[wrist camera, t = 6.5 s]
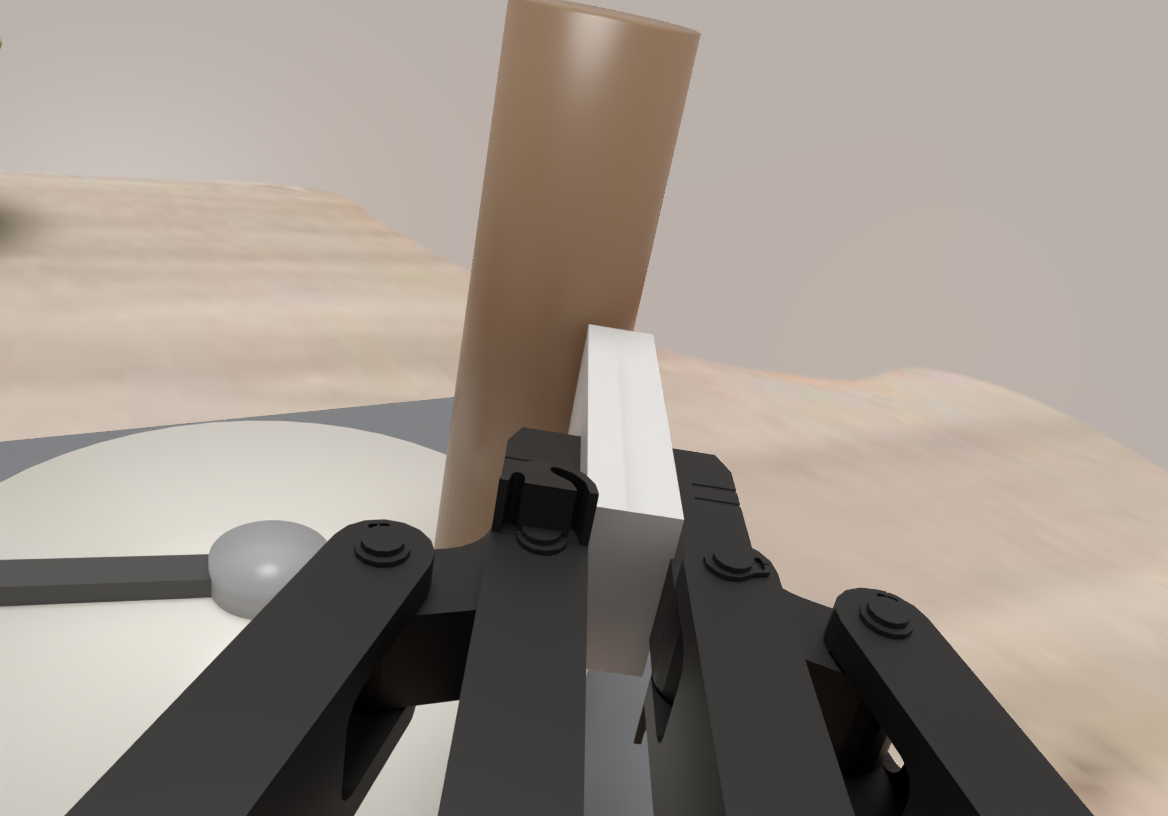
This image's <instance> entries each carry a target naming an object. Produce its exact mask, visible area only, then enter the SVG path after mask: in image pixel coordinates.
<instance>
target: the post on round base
mask: <svg viewBox="0 0 1168 816" xmlns="http://www.w3.org/2000/svg"><path fill="white" fill-rule="evenodd" d="M700 35H701V34H700V33H699V32H697V31H695V30H692V29H688V28H685V27H682V26H678V25H675V24H671V23H667V22H663V21H659V20H655V19H651V18H646V17H642V16H638V15H633V14H629V13H624V12H619V11H615V10H610V9H605V8H601V7H596V6H590V5H584V4H580V3H575V2H569V1H564V0H508V5H507V12H506V19H505V27H504V34H503V42H502V49H501V56H500V64H499V72H498V79H497V86H496V94H495V101H494V108H493V115H492V123H491V130H490V138H489V145H488V152H487V160H486V167H485V175H484V182H483V190H482V196H481V204H480V212H479V219H478V227H477V233H476V241H475V248H474V256H473V263H472V270H471V278H470V285H469V292H468V300H467V307H466V315H465V322H464V329H463V337H462V344H461V351H460V359H459V366H458V374H457V381H456V388H455V396H454V403H453V410H452V418H451V425H450V433H449V440H448V447H447V455H445V454H443V453H440V452H438V451H435V450H432V449H429V448H426V447H423V446H421V445H418V444H415V443H412V442H408V441H405V440H401V439H397V438H394V437H390V436H386V435H383V434H378V433H373V432H368V431H363V430H358V429H353V428H347V427H340V426H332V425H325V424H317V423H304V422H290V421H231V422H211V423H202V424H194V425H185V426H176V427H170V428H164V429H159V430H153V431H147V432H142V433H136V434H132V435H128V436H124V437H120V438H116V439H112V440H108V441H104V442H100V443H97V444H94V445H91V446H87V447H84V448H81V449H78V450H75V451H72V452H69V453H66V454H63V455H60V456H58V457H55V458H53V459H50V460H48V461H45V462H43V463H40V464H38V465H35V466H33V467H30V468H28V469H26V470H24V471H22V472H20V473H18V474H16V475H14V476H12V477H10V478H8V479H6V480H4V481H2V482H0V816H64V815H65V814H66V813H67V812H68V811H69V810H70V809H71V808H72V807H73V806H74V805H75V804H76V803H77V802H78V801H79V800H80V799H81V798H82V797H83V796H84V795H85V793H86V792H87V791H88V790H89V789H90V788H91V787H92V786H93V785H94V784H95V783H96V782H97V781H98V780H99V779H100V778H101V777H102V776H103V775H104V774H105V773H106V772H107V771H108V769H109V768H110V767H111V766H112V765H113V764H114V763H115V762H116V761H117V760H118V759H119V758H120V757H121V756H122V755H123V754H124V753H125V752H126V751H127V750H128V749H129V748H130V747H131V746H132V744H133V743H134V742H135V741H136V740H137V739H138V738H139V737H140V736H141V735H142V734H143V733H144V732H145V731H146V730H147V729H148V728H149V727H150V726H151V725H152V724H153V723H154V722H155V721H156V719H157V718H158V717H159V716H160V715H161V714H162V713H163V712H164V711H165V710H166V709H167V708H168V707H169V706H170V705H171V704H172V703H173V702H174V701H175V700H176V699H177V698H178V697H179V696H180V694H181V693H182V692H183V691H184V690H185V689H186V688H187V687H188V686H189V685H190V684H191V683H192V682H193V681H194V680H195V679H196V678H197V677H198V676H199V675H200V674H201V673H202V672H203V671H204V669H205V668H206V667H207V666H208V665H209V664H210V663H211V662H212V661H213V660H214V659H215V658H216V657H217V656H218V655H219V654H220V653H221V652H222V651H223V650H224V649H225V648H226V647H227V645H228V644H229V643H230V642H231V641H232V640H233V639H234V638H235V637H236V636H237V635H238V634H239V633H240V632H241V631H242V630H243V629H244V628H245V627H246V626H247V625H248V624H249V623H250V622H251V620H252V619H253V618H254V617H255V616H256V615H257V614H258V613H259V612H260V611H261V610H262V609H263V608H264V607H265V606H266V605H267V604H268V603H269V602H270V601H271V600H272V599H273V598H274V597H275V595H276V594H277V593H278V592H279V591H280V590H281V589H282V588H283V587H284V586H285V585H286V584H287V583H288V582H289V581H290V580H291V579H292V578H293V577H294V576H295V575H296V574H297V573H298V572H299V570H300V569H301V568H302V567H303V566H304V565H305V564H306V563H307V562H308V561H309V560H310V559H311V558H312V557H313V556H314V555H315V554H316V553H317V552H318V551H319V550H320V549H321V548H322V546H323V545H324V544H325V543H326V542H327V541H328V540H329V539H330V538H331V537H332V536H333V535H334V534H335V533H337V532H338V531H340V530H341V529H343V528H344V527H346V526H347V525H350V524H354V523H357V522H361V521H364V520H379V519H386V520H392V521H398V522H403V523H406V524H408V525H410V526H413V527H415V528H417V529H419V530H421V531H422V532H423V533H424V534H425V535H426V536H427V537H428V538H429V539H430V540H431V541H432V544H433V547H434V549H447V548H454V547H461V546H464V545H467V544H470V543H473V542H475V541H477V540H479V539H480V538H482V537H484V536H485V535H486V534H487V533H488V531H489V530H490V529H491V527H492V523H493V516H494V510H495V503H496V497H497V490H498V484H499V478H500V477H501V475H502V471H503V465H504V459H505V453H506V448H507V442H508V439H509V438H511V437H512V436H513V435H514V434H515V433H516V432H518V431H519V430H520V429H521V428H522V427H525V428H531V429H538V430H544V431H550V432H557V433H563V434H568V431H569V425H570V420H571V415H572V410H573V404H574V399H575V394H576V388H577V383H578V378H579V372H580V367H581V362H582V357H583V351H584V346H585V341H586V335H587V330H588V325H589V324H591V325H597V326H603V327H609V328H616V329H622V330H628V331H633V330H634V326H635V321H636V317H637V313H638V308H639V304H640V299H641V295H642V290H643V286H644V282H645V277H646V272H647V268H648V264H649V260H650V255H651V251H652V246H653V242H654V238H655V233H656V229H657V224H658V220H659V216H660V211H661V207H662V202H663V197H664V193H665V189H666V185H667V180H668V176H669V171H670V167H671V163H672V158H673V154H674V149H675V145H676V141H677V136H678V132H679V127H680V123H681V118H682V114H683V110H684V105H685V101H686V96H687V92H688V88H689V83H690V79H691V74H692V70H693V66H694V61H695V56H696V52H697V48H698V43H699V39H700ZM587 671H588V669H586V675H587ZM458 705H459V700H458V701H450V702H442V703H434V704H426V705H418V706H416V708H415V711H414V714H413V717H412V720H411V722H410V723H409V725H408V727H407V728H406V730H405V732H404V733H403V735H402V737H401V738H400V740H399V742H398V743H397V745H396V747H395V748H394V750H393V752H392V753H391V755H390V757H389V758H388V760H387V762H386V763H385V765H384V767H383V768H382V770H381V772H380V773H379V775H378V777H377V778H376V780H375V782H374V783H373V785H372V787H371V789H370V790H369V792H368V794H367V795H366V797H365V799H364V800H363V802H362V804H361V805H360V807H359V809H358V810H357V812H356V814H355V815H354V816H438V811H439V805H440V800H441V795H442V789H443V784H444V779H445V773H446V768H447V763H448V758H449V752H450V747H451V742H452V736H453V731H454V726H455V720H456V715H457V710H458Z"/></svg>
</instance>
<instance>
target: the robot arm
mask: <svg viewBox="0 0 1168 816" xmlns="http://www.w3.org/2000/svg"><path fill="white" fill-rule="evenodd" d="M735 492H736V488H735V485H734V481H733V477H732V474H731V472H730V471H729V470H728V469H727V467H726V466H725V465H724V464H723V463H722V462H721V461H720V460H719V459H718V458H717V457H716V456H715V455H711V454H705V453H698V452H692V451H686V450H679V449H673V448H672V444H671V438H670V433H669V427H668V421H667V415H666V409H665V403H664V397H663V391H662V385H661V379H660V373H659V367H658V361H657V355H656V349H655V343H654V338H653V335H651V334H646V333H640V332H634V331H628V330H622V329H616V328H609V327H603V326H597V325H591V324H589V325H588V330H587V335H586V341H585V346H584V351H583V357H582V362H581V367H580V372H579V378H578V383H577V388H576V394H575V399H574V404H573V410H572V415H571V420H570V425H569V431H568V434H563V433H557V432H550V431H544V430H538V429H531V428H525V427H522V428H521V429H520V430H519V431H518V432H516V433H515V434H514V435H513V436H512V437H511V438H509V439H508V442H507V448H506V453H505V459H504V465H503V471H502V475H501V477H500V478H499V484H498V490H497V497H496V503H495V510H494V516H493V523H492V527H491V529H490V530H489V531H488V533H487V534H486V535H485V536H484V537H482V538H480V539H479V540H477V541H475V542H473V543H470V544H467V545H464V546H461V547H454V548H447V549H434V547H433V544H432V541H431V540H430V539H429V538H428V537H427V536H426V535H425V534H424V533H423V532H422V531H421V530H419V529H417V528H415V527H413V526H410V525H408V524H406V523H403V522H398V521H392V520H386V519H379V520H364V521H361V522H357V523H354V524H350V525H347V526H346V527H344V528H343V529H341V530H340V531H338V532H337V533H335V534H334V535H333V536H332V537H331V538H330V539H329V540H328V541H327V542H326V543H325V544H324V545H323V546H322V548H321V549H320V550H319V551H318V552H317V553H316V554H315V555H314V556H313V557H312V558H311V559H310V560H309V561H308V562H307V563H306V564H305V565H304V566H303V567H302V568H301V569H300V570H299V572H298V573H297V574H296V575H295V576H294V577H293V578H292V579H291V580H290V581H289V582H288V583H287V584H286V585H285V586H284V587H283V588H282V589H281V590H280V591H279V592H278V593H277V594H276V595H275V597H274V598H273V599H272V600H271V601H270V602H269V603H268V604H267V605H266V606H265V607H264V608H263V609H262V610H261V611H260V612H259V613H258V614H257V615H256V616H255V617H254V618H253V619H252V620H251V622H250V623H249V624H248V625H247V626H246V627H245V628H244V629H243V630H242V631H241V632H240V633H239V634H238V635H237V636H236V637H235V638H234V639H233V640H232V641H231V642H230V643H229V644H228V645H227V647H226V648H225V649H224V650H223V651H222V652H221V653H220V654H219V655H218V656H217V657H216V658H215V659H214V660H213V661H212V662H211V663H210V664H209V665H208V666H207V667H206V668H205V669H204V671H203V672H202V673H201V674H200V675H199V676H198V677H197V678H196V679H195V680H194V681H193V682H192V683H191V684H190V685H189V686H188V687H187V688H186V689H185V690H184V691H183V692H182V693H181V694H180V696H179V697H178V698H177V699H176V700H175V701H174V702H173V703H172V704H171V705H170V706H169V707H168V708H167V709H166V710H165V711H164V712H163V713H162V714H161V715H160V716H159V717H158V718H157V719H156V721H155V722H154V723H153V724H152V725H151V726H150V727H149V728H148V729H147V730H146V731H145V732H144V733H143V734H142V735H141V736H140V737H139V738H138V739H137V740H136V741H135V742H134V743H133V744H132V746H131V747H130V748H129V749H128V750H127V751H126V752H125V753H124V754H123V755H122V756H121V757H120V758H119V759H118V760H117V761H116V762H115V763H114V764H113V765H112V766H111V767H110V768H109V769H108V771H107V772H106V773H105V774H104V775H103V776H102V777H101V778H100V779H99V780H98V781H97V782H96V783H95V784H94V785H93V786H92V787H91V788H90V789H89V790H88V791H87V792H86V793H85V795H84V796H83V797H82V798H81V799H80V800H79V801H78V802H77V803H76V804H75V805H74V806H73V807H72V808H71V809H70V810H69V811H68V812H67V813H66V814H65V815H64V816H354V815H355V814H356V812H357V810H358V809H359V807H360V805H361V804H362V802H363V800H364V799H365V797H366V795H367V794H368V792H369V790H370V789H371V787H372V785H373V783H374V782H375V780H376V778H377V777H378V775H379V773H380V772H381V770H382V768H383V767H384V765H385V763H386V762H387V760H388V758H389V757H390V755H391V753H392V752H393V750H394V748H395V747H396V745H397V743H398V742H399V740H400V738H401V737H402V735H403V733H404V732H405V730H406V728H407V727H408V725H409V723H410V722H411V720H412V717H413V714H414V711H415V708H416V706H418V705H426V704H434V703H442V702H450V701H458V700H459V705H458V710H457V715H456V720H455V726H454V731H453V736H452V742H451V747H450V752H449V758H448V763H447V768H446V773H445V779H444V784H443V789H442V795H441V800H440V805H439V811H438V816H584V774H585V714H586V669H588V670H595V671H602V672H610V673H618V674H625V675H632V676H639V677H643V673H644V669H645V666H646V662H647V658H648V654H649V650H650V657H651V668H652V673H651V677H650V680H649V684H648V688H647V691H646V695H645V699H644V703H643V706H642V710H641V714H640V717H639V721H638V725H637V728H636V732H635V738H634V743H633V744H641V743H642V740H643V736H644V732H645V731H647V743H648V755H649V767H650V779H651V791H652V804H653V816H1094V815H1093V814H1092V813H1091V812H1090V810H1089V809H1088V808H1087V807H1086V806H1085V804H1084V803H1083V802H1082V801H1081V800H1080V799H1079V797H1078V796H1077V795H1076V794H1075V793H1074V791H1073V790H1072V789H1071V788H1070V787H1069V785H1068V784H1067V783H1066V782H1065V781H1064V780H1063V778H1062V777H1061V776H1060V775H1059V774H1058V772H1057V771H1056V770H1055V769H1054V768H1053V766H1052V765H1051V764H1050V763H1049V762H1048V761H1047V759H1046V758H1045V757H1044V756H1043V755H1042V753H1041V752H1040V751H1039V750H1038V749H1037V747H1036V746H1035V745H1034V744H1033V743H1032V742H1031V740H1030V739H1029V738H1028V737H1027V736H1026V734H1025V733H1024V732H1023V731H1022V730H1021V728H1020V727H1019V726H1018V725H1017V724H1016V722H1015V721H1014V720H1013V719H1012V718H1011V717H1010V715H1009V714H1008V713H1007V712H1006V711H1005V709H1004V708H1003V707H1002V706H1001V705H1000V703H999V702H998V701H997V700H996V699H995V698H994V696H993V695H992V694H991V693H990V692H989V690H988V689H987V688H986V687H985V686H984V684H983V683H982V682H981V681H980V680H979V679H978V677H977V676H976V675H975V674H974V673H973V671H972V670H971V669H970V668H969V667H968V665H967V664H966V663H965V662H964V661H963V660H962V658H961V657H960V656H959V655H958V654H957V652H956V651H955V650H954V649H953V648H952V646H951V645H950V644H949V643H948V642H947V641H946V639H945V638H944V637H943V636H942V635H941V633H940V632H939V631H938V630H937V629H936V627H935V626H934V625H933V624H932V623H931V621H930V620H929V619H928V618H927V617H926V616H925V615H924V614H922V613H921V612H920V611H919V610H918V609H917V608H916V607H915V606H913V605H911V604H910V603H908V602H906V601H904V600H903V599H901V598H900V597H898V596H896V595H893V594H891V593H886V592H885V591H881V590H876V589H868V588H855V589H850V590H846V591H844V592H843V593H842V594H840V595H839V596H838V597H837V599H836V601H835V604H834V607H833V609H832V608H829V607H827V606H824V605H821V604H818V603H815V602H812V601H810V600H807V599H804V598H802V597H799V596H797V595H795V594H792V593H790V592H788V591H787V590H785V589H783V588H782V586H781V582H780V579H779V576H778V573H777V571H776V570H775V568H774V566H773V565H772V563H771V561H769V560H768V559H767V558H766V557H765V556H763V555H762V554H761V553H760V552H759V551H757V550H755V549H753V548H752V546H751V543H750V539H749V535H748V532H747V528H746V525H745V521H744V517H743V514H742V510H741V507H739V505H740V503H739V499H738V496H737V493H735ZM891 743H892V744H893V745H894V747H895V748H896V750H897V751H898V753H899V754H900V756H901V757H902V759H903V761H904V765H903V767H902V768H900V767H899V766H898V765H897V764H896V763H895V762H894V760H893V759H892V757H891V756H890V754H889V753H888V749H889V747H890V745H891Z"/></svg>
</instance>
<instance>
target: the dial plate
mask: <svg viewBox="0 0 1168 816" xmlns="http://www.w3.org/2000/svg"><path fill="white" fill-rule="evenodd" d="M453 403H454V397H451V398H441V399H431V400H421V401H411V402H401V403H390V404H380V405H370V406H360V407H350V408H340V409H329V410H319V411H309V412H299V413H289V414H279V415H268V416H258V417H248V418H238V419H228V420H218V421H207V422H197V423H187V424H177V425H167V426H157V427H146V428H136V429H126V430H116V431H106V432H96V433H85V434H75V435H65V436H55V437H45V438H35V439H24V440H14V441H4V442H0V482H2V481H4V480H6V479H8V478H10V477H12V476H14V475H16V474H18V473H20V472H22V471H24V470H26V469H28V468H30V467H33V466H35V465H38V464H40V463H43V462H45V461H48V460H50V459H53V458H55V457H58V456H60V455H63V454H66V453H69V452H72V451H75V450H78V449H81V448H84V447H87V446H91V445H94V444H97V443H100V442H104V441H108V440H112V439H116V438H120V437H124V436H128V435H132V434H136V433H142V432H147V431H153V430H159V429H164V428H170V427H176V426H185V425H194V424H202V423H211V422H231V421H290V422H304V423H317V424H325V425H332V426H340V427H347V428H353V429H358V430H363V431H368V432H373V433H378V434H383V435H386V436H390V437H394V438H397V439H401V440H405V441H408V442H412V443H415V444H418V445H421V446H423V447H426V448H429V449H432V450H435V451H438V452H440V453H443V454H445V455H447V447H448V440H449V433H450V425H451V418H452V410H453ZM651 673H652V668H651V657H650V650H649V654H648V658H647V662H646V666H645V669H644V673H643V677H639V676H632V675H625V674H618V673H610V672H602V671H595V670H588V671H587V675H586V714H585V774H584V816H653V804H652V791H651V779H650V767H649V755H648V743H647V731H645V732H644V736H643V740H642V743H641V744H633V743H634V738H635V732H636V728H637V725H638V721H639V717H640V714H641V710H642V706H643V703H644V699H645V695H646V691H647V688H648V684H649V680H650V677H651Z"/></svg>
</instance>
